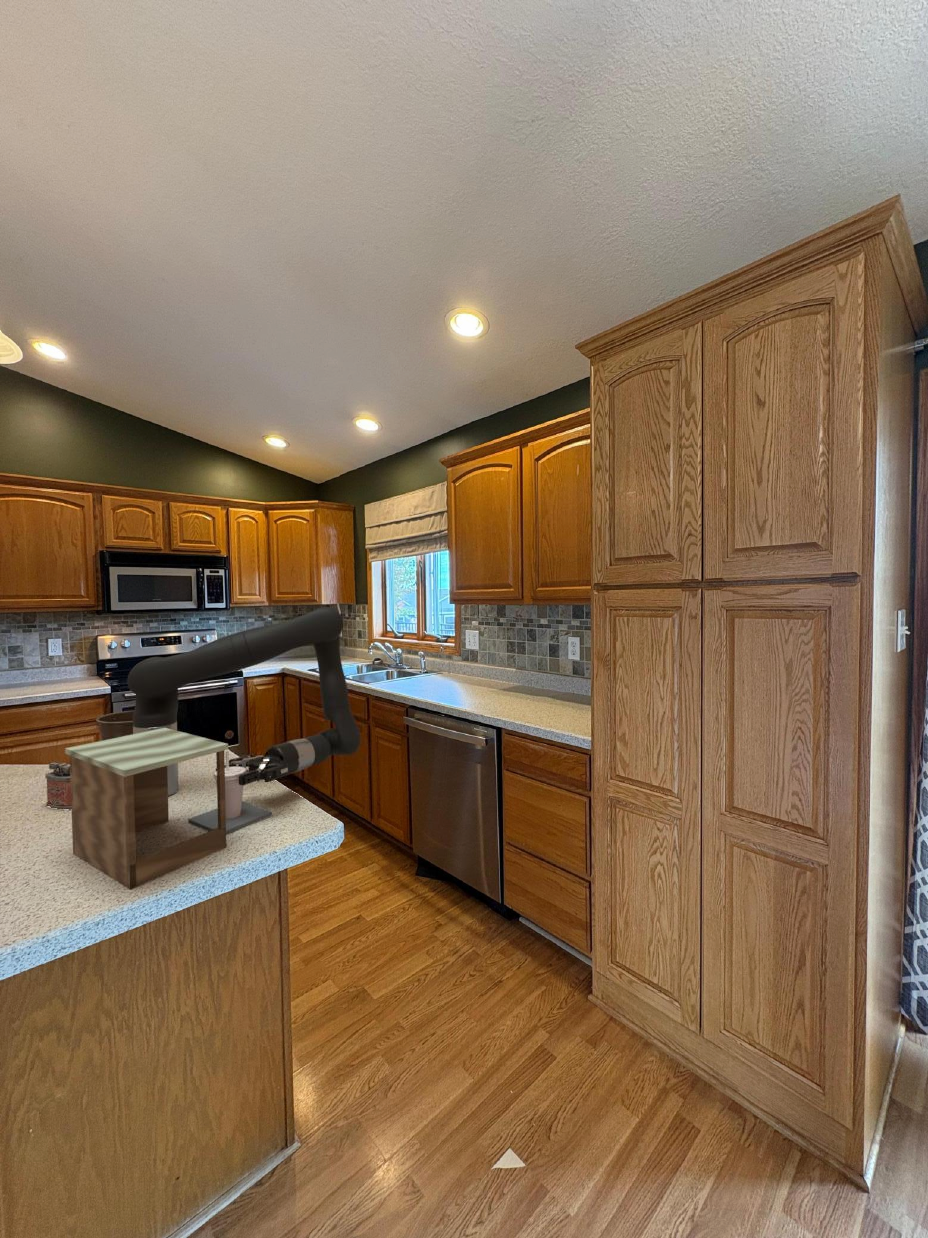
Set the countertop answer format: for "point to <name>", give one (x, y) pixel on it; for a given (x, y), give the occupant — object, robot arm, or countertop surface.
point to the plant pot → (116, 725)
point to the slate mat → (245, 818)
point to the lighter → (59, 786)
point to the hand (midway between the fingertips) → (227, 777)
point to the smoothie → (232, 789)
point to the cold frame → (136, 802)
